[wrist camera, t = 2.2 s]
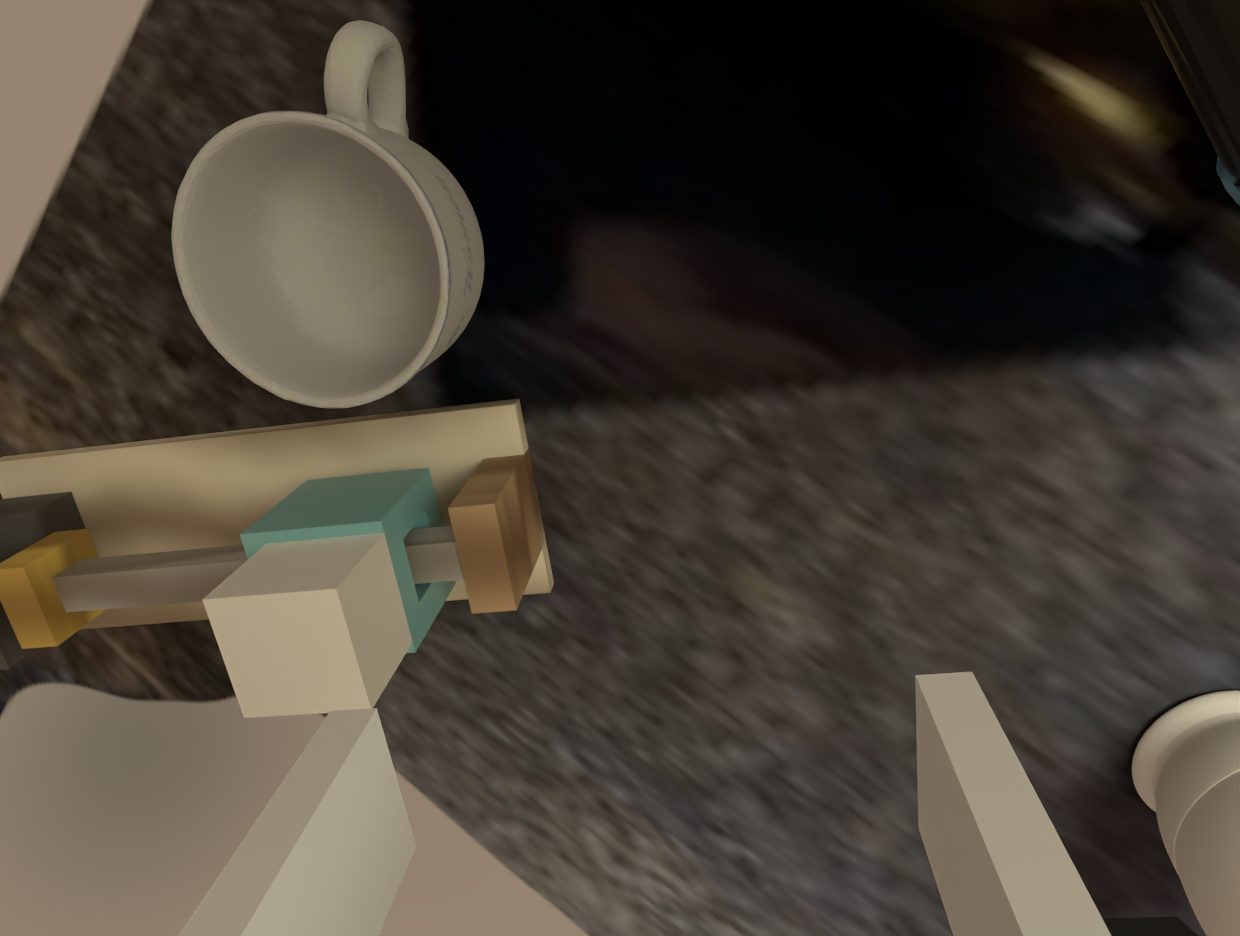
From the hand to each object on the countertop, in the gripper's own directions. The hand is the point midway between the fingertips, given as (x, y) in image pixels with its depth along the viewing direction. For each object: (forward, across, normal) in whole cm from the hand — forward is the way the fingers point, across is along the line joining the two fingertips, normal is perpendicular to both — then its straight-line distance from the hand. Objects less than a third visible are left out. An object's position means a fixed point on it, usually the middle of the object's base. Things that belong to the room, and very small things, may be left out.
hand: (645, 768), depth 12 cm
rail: (+27, -22, -6) cm, 36 cm away
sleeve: (+24, -15, -6) cm, 29 cm away
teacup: (+28, -12, +8) cm, 31 cm away
